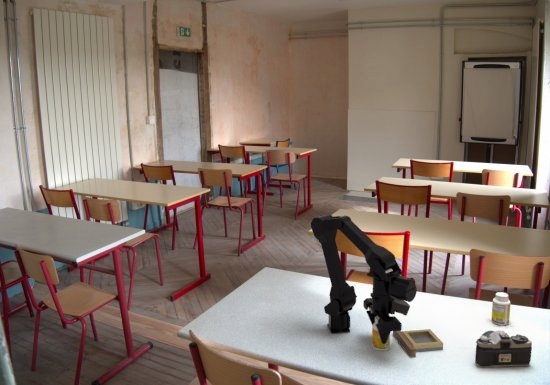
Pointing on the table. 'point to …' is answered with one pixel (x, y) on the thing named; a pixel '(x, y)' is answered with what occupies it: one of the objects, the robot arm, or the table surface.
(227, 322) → the table surface
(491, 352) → the camera
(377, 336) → the supplement bottle
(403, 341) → the door edge rail
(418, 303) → the table surface
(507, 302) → the supplement bottle
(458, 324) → the table surface
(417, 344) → the plate
